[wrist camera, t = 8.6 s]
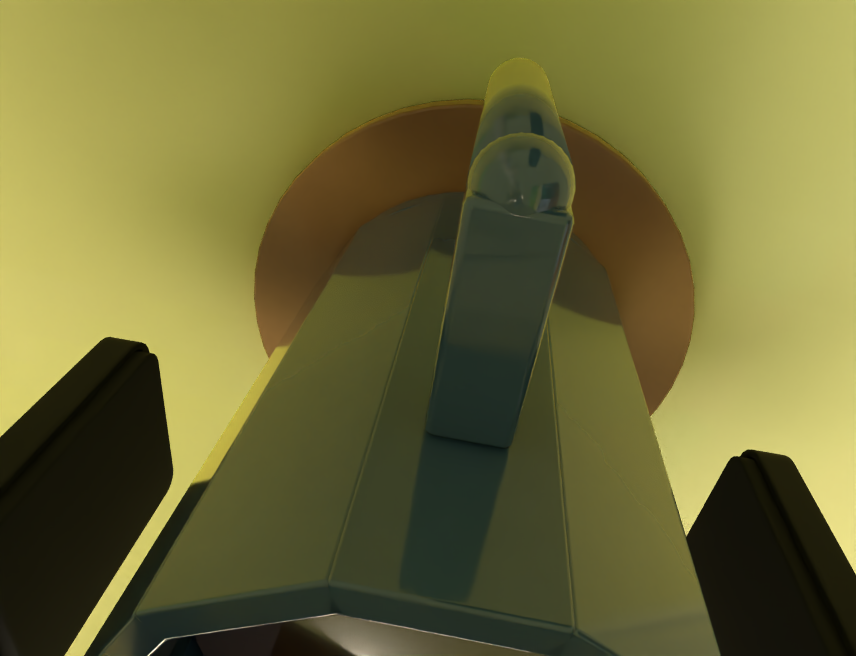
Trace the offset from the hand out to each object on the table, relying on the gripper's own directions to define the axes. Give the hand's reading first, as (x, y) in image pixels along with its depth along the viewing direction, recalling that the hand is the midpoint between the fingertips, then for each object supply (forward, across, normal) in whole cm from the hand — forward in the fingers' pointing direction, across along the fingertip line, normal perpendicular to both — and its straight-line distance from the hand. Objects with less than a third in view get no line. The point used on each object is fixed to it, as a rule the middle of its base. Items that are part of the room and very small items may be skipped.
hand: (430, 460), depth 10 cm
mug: (+5, 0, -1) cm, 5 cm away
